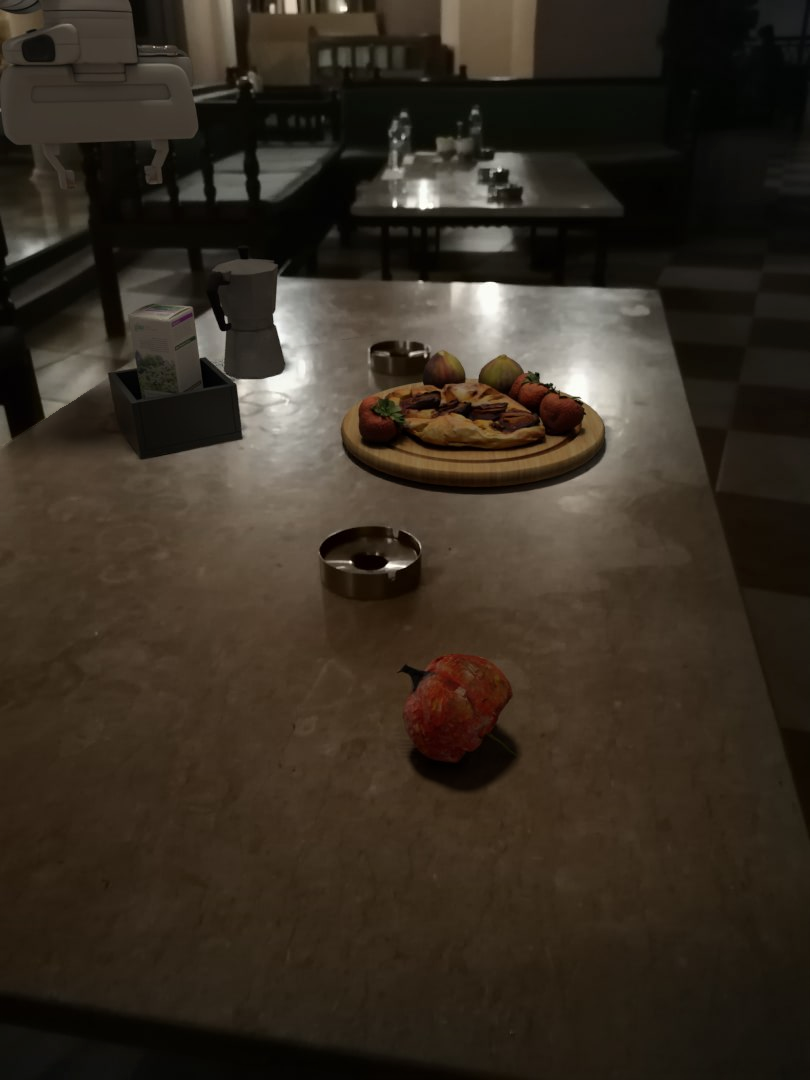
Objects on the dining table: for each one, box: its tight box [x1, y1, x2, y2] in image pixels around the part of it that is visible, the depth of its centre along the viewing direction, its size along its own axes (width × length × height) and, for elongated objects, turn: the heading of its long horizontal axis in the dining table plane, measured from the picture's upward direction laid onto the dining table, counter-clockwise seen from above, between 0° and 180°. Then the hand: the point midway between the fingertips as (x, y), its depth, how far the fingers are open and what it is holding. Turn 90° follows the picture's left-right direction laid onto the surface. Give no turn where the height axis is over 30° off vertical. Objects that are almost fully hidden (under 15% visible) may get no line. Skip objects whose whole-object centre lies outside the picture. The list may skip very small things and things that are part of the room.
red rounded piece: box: [396, 653, 518, 764], centre depth 61 cm, size 7×7×10 cm
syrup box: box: [127, 303, 203, 399], centre depth 110 cm, size 6×6×14 cm
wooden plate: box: [340, 349, 606, 488], centre depth 109 cm, size 32×32×8 cm
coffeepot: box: [205, 244, 286, 380], centre depth 130 cm, size 15×9×18 cm, turn 153°
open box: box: [107, 356, 243, 460], centre depth 113 cm, size 13×13×7 cm
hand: (112, 185), depth 101 cm, fingers open, 8 cm apart
